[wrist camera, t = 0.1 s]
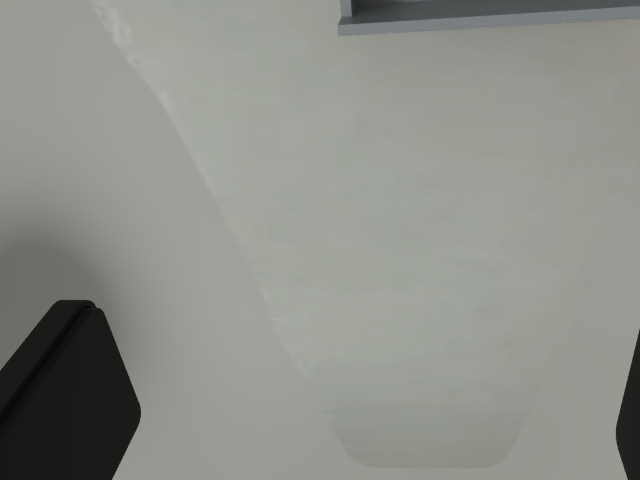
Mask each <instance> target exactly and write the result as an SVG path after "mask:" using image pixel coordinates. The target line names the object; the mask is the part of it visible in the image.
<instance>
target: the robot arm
mask: <svg viewBox="0 0 640 480" xmlns="http://www.w3.org/2000/svg"><path fill="white" fill-rule="evenodd" d="M140 417H141V409H140V404H139V402H138V399H137V396H136V394H135V391H134V389H133V386H132V384H131V381H130V379H129V376H128V373H127V371H126V369H125V366H124V363H123V360H122V358H121V355H120V353H119V350H118V348H117V345H116V342H115V340H114V337H113V335H112V332H111V330H110V327H109V324H108V322H107V319H106V317H105V314H104V312H103V311H102V310H101V309H100V308H96V306H95V304H94V303H93V302H92V301H89V300H59V301H57V302H56V303H55V304H53V306H52V307H51V308H50V309H49V311H48V312H47V313H46V314H45V316H44V317H43V318H42V319H41V321H40V322H39V323H38V324H37V326H36V327H35V328H34V329H33V331H32V332H31V333H30V335H29V336H28V337H27V338H26V339H25V341H24V342H23V343H22V344H21V346H20V347H19V348H18V349H17V351H16V352H15V353H14V354H13V356H12V357H11V358H10V359H9V361H8V362H7V363H6V364H5V366H4V367H3V368H2V369H1V371H0V480H112V478H113V476H114V474H115V472H116V470H117V468H118V466H119V464H120V462H121V460H122V458H123V456H124V454H125V452H126V450H127V448H128V445H129V443H130V441H131V439H132V437H133V435H134V433H135V431H136V429H137V427H138V425H139V422H140ZM616 441H617V446H618V450H619V453H620V457H621V460H622V463H623V466H624V469H625V472H626V475H627V478H628V480H640V330H639V334H638V339H637V343H636V347H635V351H634V355H633V359H632V363H631V368H630V372H629V376H628V380H627V384H626V388H625V392H624V396H623V401H622V405H621V409H620V413H619V417H618V421H617V426H616Z"/></svg>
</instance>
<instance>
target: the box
mask: <svg viewBox="0 0 640 480" xmlns="http://www.w3.org/2000/svg"><path fill="white" fill-rule="evenodd" d="M340 4H341V19H340V21H339V24H338V35H339V36H352V35H368V34H385V33H402V32H418V31H435V30H452V29H469V28H485V27H502V26H519V25H535V24H552V23H569V22H585V21H602V20H619V19H635V18H640V0H340Z"/></svg>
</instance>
